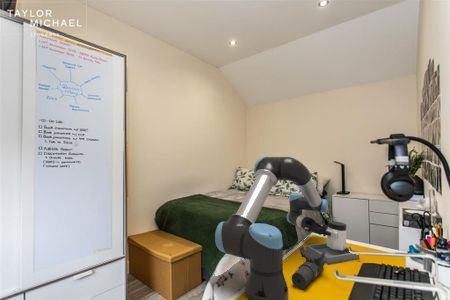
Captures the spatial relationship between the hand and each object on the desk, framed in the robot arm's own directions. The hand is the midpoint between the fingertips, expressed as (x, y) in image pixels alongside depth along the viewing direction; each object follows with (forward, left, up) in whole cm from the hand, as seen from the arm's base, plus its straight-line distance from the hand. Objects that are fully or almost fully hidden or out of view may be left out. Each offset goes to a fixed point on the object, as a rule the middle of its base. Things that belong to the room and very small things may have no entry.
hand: (337, 236), depth 113 cm
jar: (+3, +5, -8) cm, 10 cm away
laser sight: (-24, -10, -11) cm, 28 cm away
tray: (0, +4, -10) cm, 11 cm away
